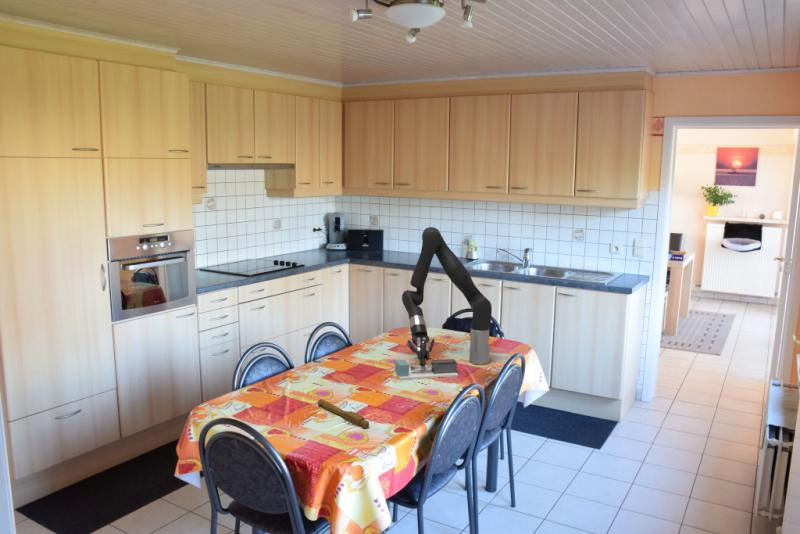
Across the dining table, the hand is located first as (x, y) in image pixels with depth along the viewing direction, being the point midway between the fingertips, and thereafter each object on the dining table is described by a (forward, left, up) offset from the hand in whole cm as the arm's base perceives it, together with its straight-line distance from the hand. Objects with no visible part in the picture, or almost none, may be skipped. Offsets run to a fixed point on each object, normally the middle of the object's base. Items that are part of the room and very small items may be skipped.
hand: (424, 359), depth 297 cm
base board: (-2, -2, -8) cm, 8 cm away
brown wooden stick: (+44, +40, -9) cm, 60 cm away
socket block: (+10, -2, -8) cm, 13 cm away
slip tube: (-3, -2, -6) cm, 7 cm away
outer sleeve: (-10, -2, -8) cm, 13 cm away
